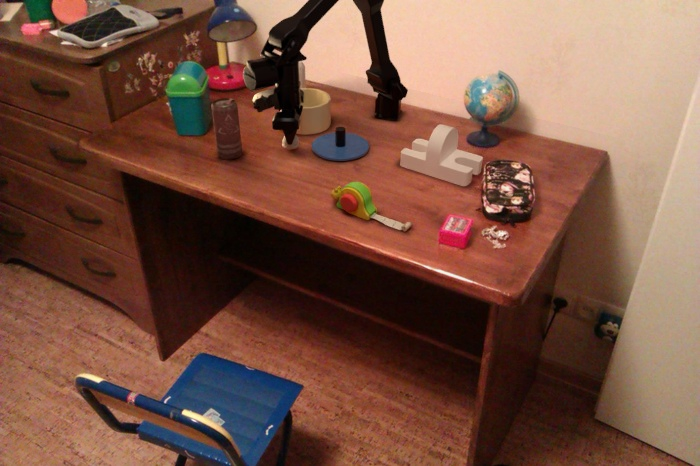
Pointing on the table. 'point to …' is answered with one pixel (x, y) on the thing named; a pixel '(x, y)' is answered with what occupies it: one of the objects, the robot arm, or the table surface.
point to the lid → (340, 145)
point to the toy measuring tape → (363, 204)
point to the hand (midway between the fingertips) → (290, 140)
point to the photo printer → (302, 75)
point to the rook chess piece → (294, 144)
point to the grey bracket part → (442, 157)
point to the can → (227, 128)
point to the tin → (315, 112)
